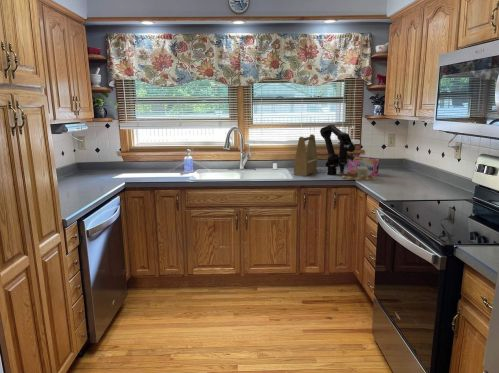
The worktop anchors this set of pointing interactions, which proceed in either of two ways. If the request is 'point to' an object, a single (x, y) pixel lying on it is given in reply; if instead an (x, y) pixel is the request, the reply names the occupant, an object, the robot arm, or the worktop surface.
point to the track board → (361, 177)
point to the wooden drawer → (348, 174)
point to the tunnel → (362, 171)
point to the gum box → (365, 164)
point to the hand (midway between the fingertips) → (341, 171)
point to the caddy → (305, 157)
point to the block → (352, 171)
